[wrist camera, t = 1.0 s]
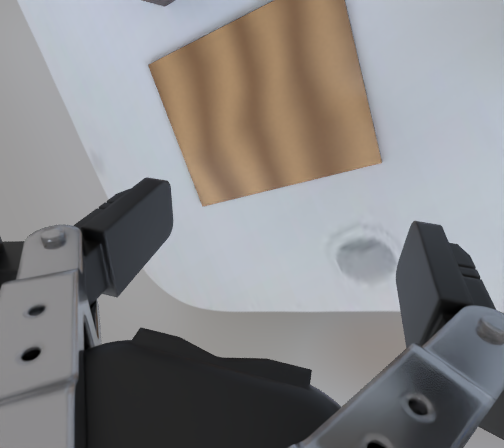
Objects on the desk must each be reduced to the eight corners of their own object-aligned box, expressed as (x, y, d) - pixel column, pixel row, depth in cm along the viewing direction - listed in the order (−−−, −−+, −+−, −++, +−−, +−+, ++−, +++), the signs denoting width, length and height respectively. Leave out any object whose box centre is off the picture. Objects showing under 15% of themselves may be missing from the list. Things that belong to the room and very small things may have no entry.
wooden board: (337, -31, 28) (337, -33, 27) (381, 161, 32) (381, 163, 32) (150, 64, 37) (147, 64, 36) (204, 205, 41) (202, 206, 41)
